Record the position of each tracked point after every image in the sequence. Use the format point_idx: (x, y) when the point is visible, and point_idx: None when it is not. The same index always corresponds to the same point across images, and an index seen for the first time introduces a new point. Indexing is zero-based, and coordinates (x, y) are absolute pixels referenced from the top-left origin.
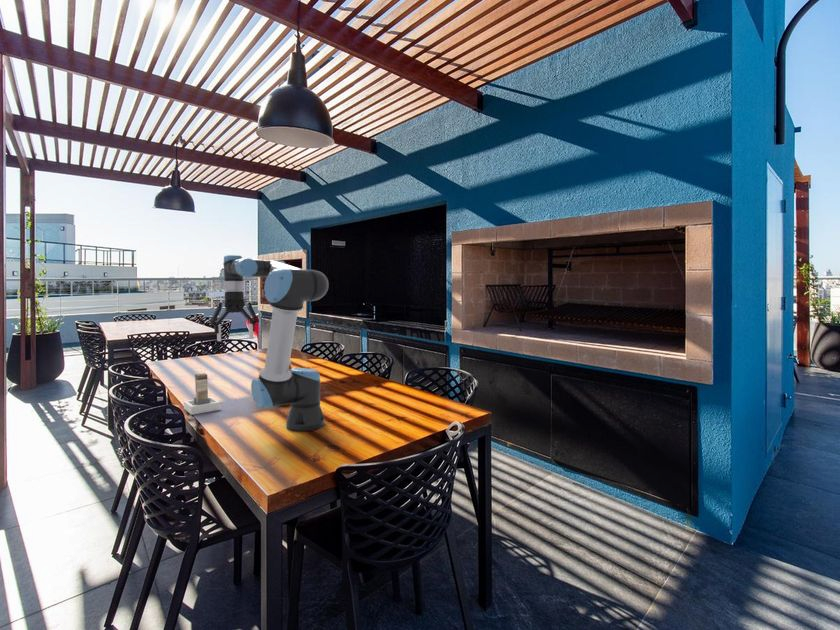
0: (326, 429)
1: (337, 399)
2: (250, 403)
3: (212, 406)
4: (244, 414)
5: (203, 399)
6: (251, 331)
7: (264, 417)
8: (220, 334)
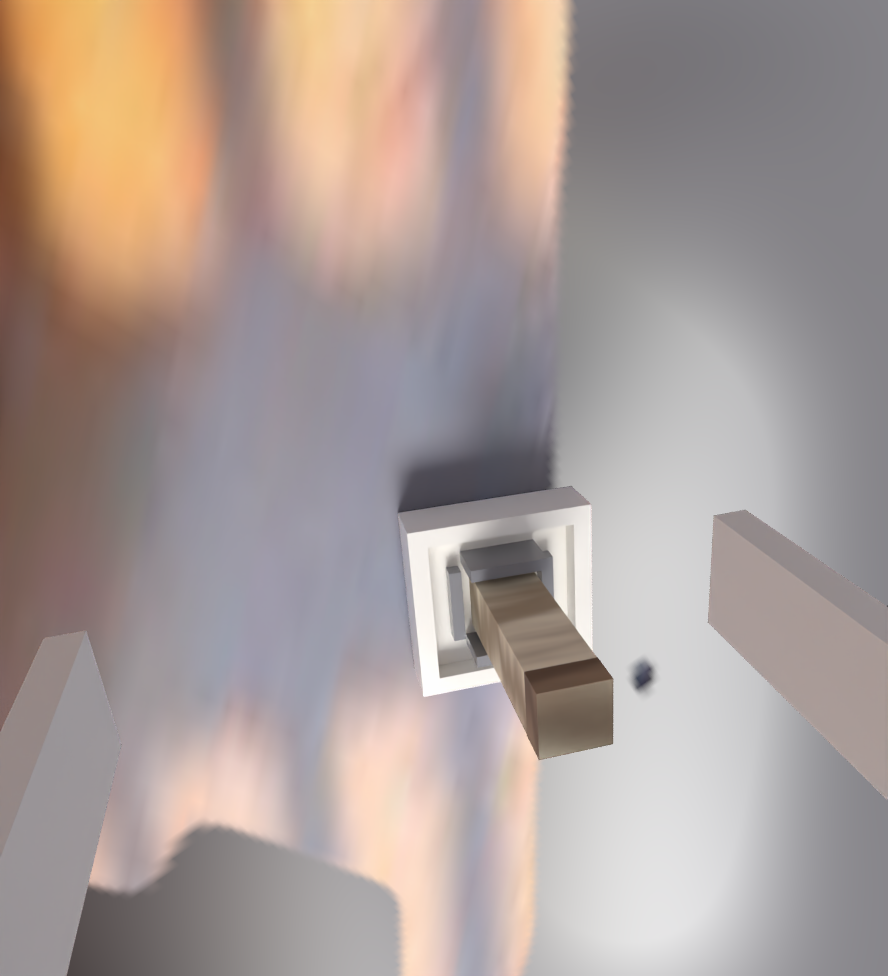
0: None
1: None
2: (177, 567)
3: (453, 516)
4: (276, 298)
5: (507, 586)
6: (36, 746)
7: (152, 116)
8: (810, 574)
